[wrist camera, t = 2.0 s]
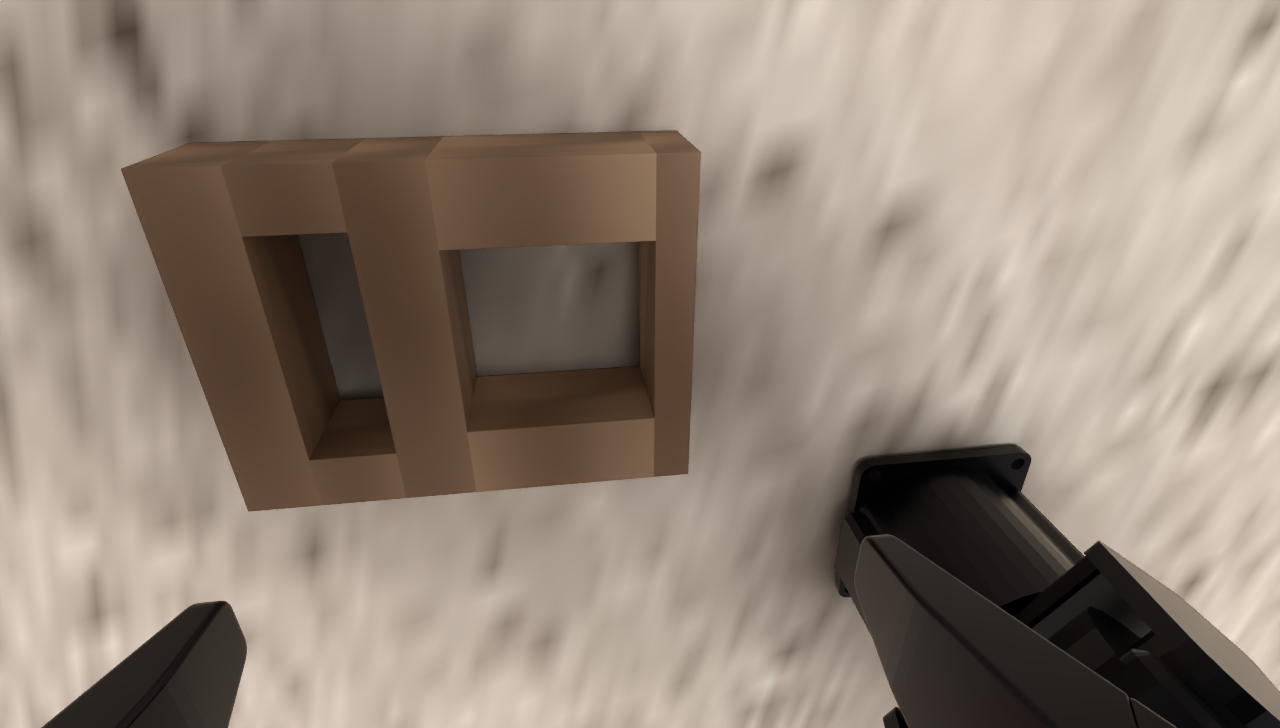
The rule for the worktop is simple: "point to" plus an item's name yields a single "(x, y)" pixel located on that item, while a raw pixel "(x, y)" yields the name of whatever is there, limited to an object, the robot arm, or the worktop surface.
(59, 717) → the robot arm
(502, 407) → the brown wooden slotted frame
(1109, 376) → the worktop surface
